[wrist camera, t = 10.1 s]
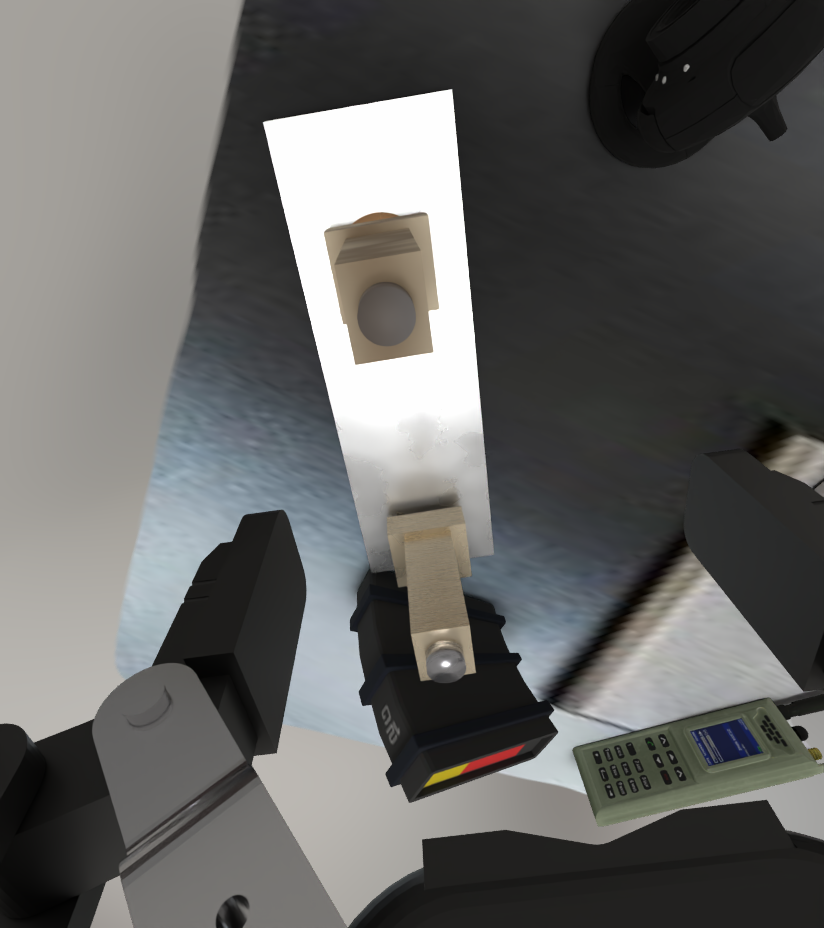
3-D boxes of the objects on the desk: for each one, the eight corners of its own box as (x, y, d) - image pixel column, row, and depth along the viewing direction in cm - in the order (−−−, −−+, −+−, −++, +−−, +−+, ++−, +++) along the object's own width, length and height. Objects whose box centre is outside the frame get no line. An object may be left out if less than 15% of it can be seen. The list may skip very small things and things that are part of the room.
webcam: (688, -68, 24) (871, -207, 15) (768, 75, 26) (962, 29, 18) (553, 85, 26) (641, 44, 17) (639, 202, 29) (753, 217, 20)
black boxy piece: (330, 562, 37) (429, 770, 27) (466, 560, 45) (582, 720, 35) (312, 599, 39) (399, 809, 29) (447, 591, 47) (552, 753, 37)
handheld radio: (569, 742, 53) (830, 675, 50) (575, 759, 54) (827, 695, 51) (594, 815, 47) (890, 744, 44) (599, 832, 49) (884, 764, 46)
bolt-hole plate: (448, 92, 26) (505, 33, 15) (490, 544, 40) (536, 695, 28) (267, 123, 26) (183, 89, 15) (371, 562, 40) (369, 719, 28)
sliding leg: (424, 211, 27) (452, 236, 17) (435, 298, 29) (465, 367, 19) (327, 227, 27) (298, 262, 17) (345, 313, 29) (328, 389, 19)
